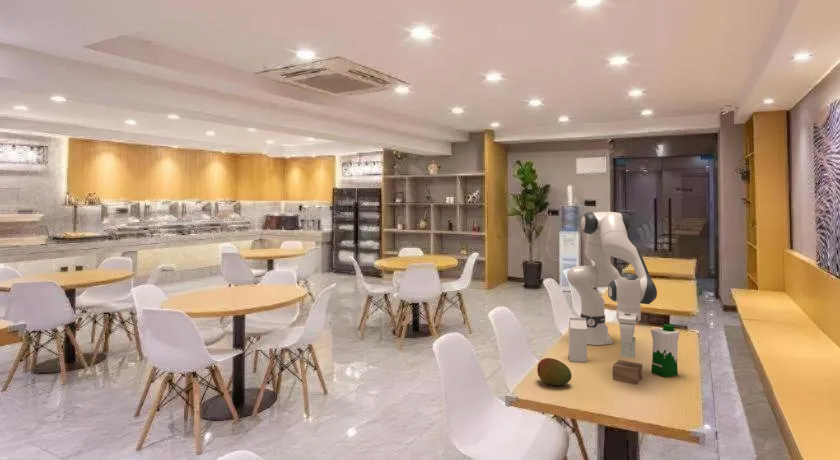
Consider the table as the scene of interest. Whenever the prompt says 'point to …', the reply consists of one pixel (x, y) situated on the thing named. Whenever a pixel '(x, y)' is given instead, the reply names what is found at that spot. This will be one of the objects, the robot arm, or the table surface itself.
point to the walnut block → (627, 371)
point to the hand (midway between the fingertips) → (628, 349)
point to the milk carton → (578, 339)
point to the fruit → (553, 372)
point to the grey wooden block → (632, 349)
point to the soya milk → (665, 351)
